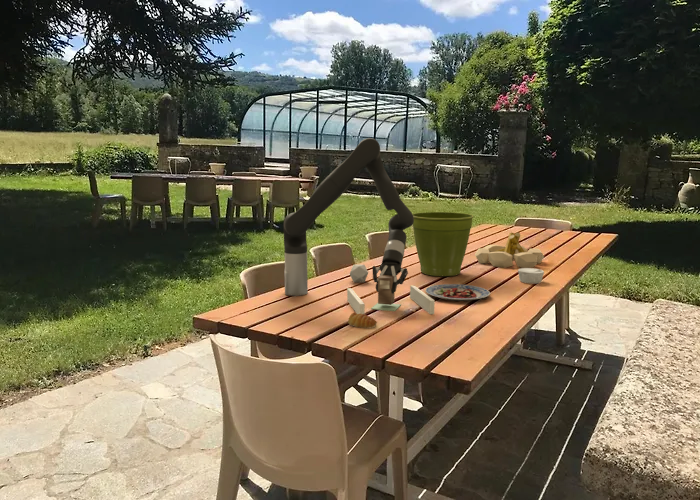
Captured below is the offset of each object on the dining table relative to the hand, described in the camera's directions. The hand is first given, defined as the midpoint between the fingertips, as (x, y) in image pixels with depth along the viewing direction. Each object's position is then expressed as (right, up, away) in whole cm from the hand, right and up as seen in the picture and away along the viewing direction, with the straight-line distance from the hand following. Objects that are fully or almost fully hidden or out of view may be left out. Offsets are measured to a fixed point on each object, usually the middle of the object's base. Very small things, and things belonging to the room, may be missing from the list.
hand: (385, 291), depth 201 cm
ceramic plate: (+31, -4, +21) cm, 37 cm away
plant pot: (+31, +4, +65) cm, 72 cm away
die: (-9, +1, +46) cm, 47 cm away
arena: (+2, -6, +3) cm, 7 cm away
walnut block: (+1, -4, +3) cm, 5 cm away
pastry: (-9, -10, -19) cm, 23 cm away
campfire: (+73, +8, +94) cm, 119 cm away
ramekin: (+69, +1, +47) cm, 84 cm away
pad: (+1, -6, +3) cm, 7 cm away
